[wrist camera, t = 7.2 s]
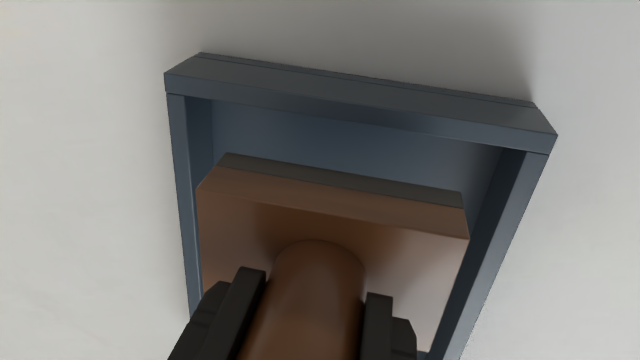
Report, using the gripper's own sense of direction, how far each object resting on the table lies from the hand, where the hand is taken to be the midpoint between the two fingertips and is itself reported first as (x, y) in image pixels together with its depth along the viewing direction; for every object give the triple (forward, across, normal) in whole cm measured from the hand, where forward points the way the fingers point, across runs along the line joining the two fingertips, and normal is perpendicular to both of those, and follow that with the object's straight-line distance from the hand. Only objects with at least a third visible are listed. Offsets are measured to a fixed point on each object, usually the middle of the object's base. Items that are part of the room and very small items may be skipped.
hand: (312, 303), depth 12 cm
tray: (+9, 0, +7) cm, 12 cm away
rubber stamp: (+4, 0, 0) cm, 4 cm away
